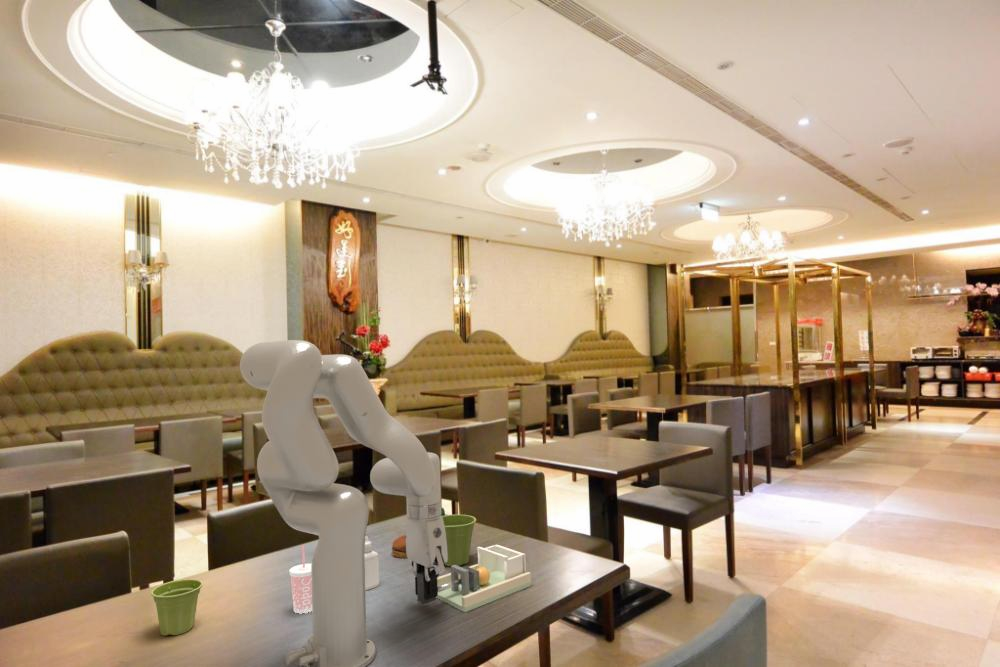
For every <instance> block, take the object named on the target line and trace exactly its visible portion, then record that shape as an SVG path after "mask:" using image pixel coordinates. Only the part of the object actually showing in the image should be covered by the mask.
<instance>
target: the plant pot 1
mask: <svg viewBox="0 0 1000 667" xmlns="http://www.w3.org/2000/svg"><path fill="white" fill-rule="evenodd" d="M203 585H204V584H203V581H202V580H199V579H194V578H188V579H186V578H185V579H179V580H172V581H169V582H165V583H163V584H160V585H157V586H156V587H154V588H153V589H152V590H151V592H150V594H151V596H152V598H153V601H154V602H155V606H156V611H157V612H156V613H157V618H158V626H159V632H160V634H161V635H162V636H165V637H167V636H168V635H172V636H177V635H182V634H184V633H187V632H189V631H190V630H191V629H192V628H193V627H194V626H195V620H196V612H197V605H198V599H199V594H200V592H201V588H202V587H203Z"/></svg>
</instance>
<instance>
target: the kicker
mask: <svg viewBox="0 0 1000 667" xmlns="http://www.w3.org/2000/svg"><path fill="white" fill-rule="evenodd" d="M462 568H464V569H467V570H469V589H471V590H473V591H475V590H478V589H480V587H479V571H477V570H475V569H472V568H470V566H467V565H463V566H462ZM431 570H432V569H430V572H431ZM460 576H461V575H460ZM424 581H425V570H424V571H421V572H418V573H417V592H418V596H417V602H419V603H420V604H422V605H426V604H428V603H431V602H434V601H436V599H437V598H436V597H434V598H431V599H429V600H425V599H424ZM460 584H461V585H462V577H461V578H460V579H458V580H455V581H452V582H449V583H446V584H443V585H440V586H438V592H441V591H444V590H446V589H449V588H452V587H455V586H457V585H460Z"/></svg>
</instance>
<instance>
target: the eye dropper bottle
mask: <svg viewBox="0 0 1000 667" xmlns="http://www.w3.org/2000/svg"><path fill="white" fill-rule="evenodd" d="M372 544H373V543H372V541H370V540H369V537H368V536H365V590H366V591H368V590H372V589H374V588H377V587H379V586H380V559H379V558H380V556H379V554H378V552H376V551H374V550H373V548H372V546H373V545H372Z"/></svg>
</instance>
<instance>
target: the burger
mask: <svg viewBox="0 0 1000 667" xmlns="http://www.w3.org/2000/svg"><path fill="white" fill-rule="evenodd" d="M391 553H392V554H391V555H392V556H393V557H395V558H399V559H408V557H407V553H406V534H404V535H401V536H399V537H397V538H396V539H394V540H393V542H392V546H391Z"/></svg>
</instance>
